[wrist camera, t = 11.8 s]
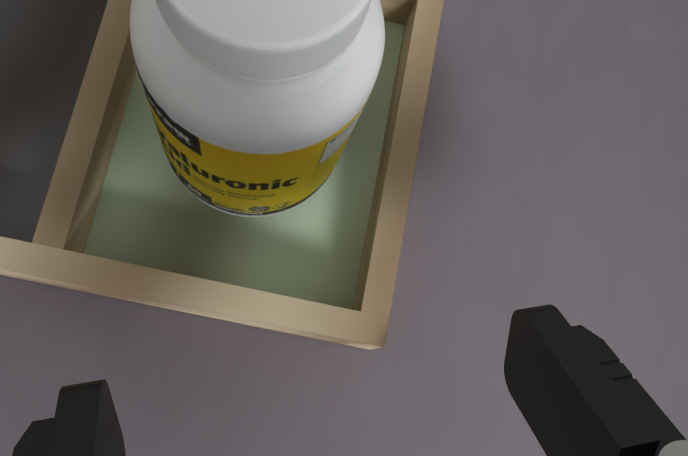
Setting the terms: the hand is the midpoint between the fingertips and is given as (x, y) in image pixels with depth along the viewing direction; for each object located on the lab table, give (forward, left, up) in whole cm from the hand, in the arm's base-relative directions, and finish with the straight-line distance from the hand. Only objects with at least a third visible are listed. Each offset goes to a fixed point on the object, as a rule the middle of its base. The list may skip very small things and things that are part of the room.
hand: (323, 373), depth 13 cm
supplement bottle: (-3, +7, -7) cm, 10 cm away
